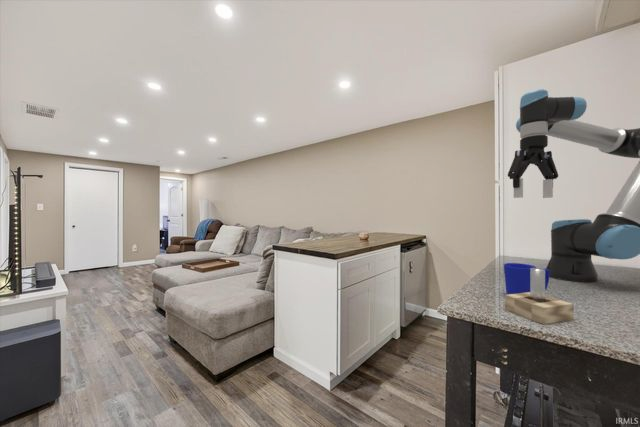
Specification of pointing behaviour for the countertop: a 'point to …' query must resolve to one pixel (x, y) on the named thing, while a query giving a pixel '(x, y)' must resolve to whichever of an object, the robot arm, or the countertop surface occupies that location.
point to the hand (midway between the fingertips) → (533, 197)
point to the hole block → (539, 308)
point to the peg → (537, 284)
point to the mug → (520, 277)
